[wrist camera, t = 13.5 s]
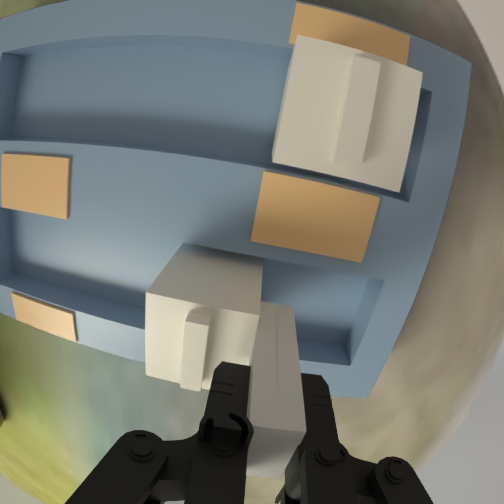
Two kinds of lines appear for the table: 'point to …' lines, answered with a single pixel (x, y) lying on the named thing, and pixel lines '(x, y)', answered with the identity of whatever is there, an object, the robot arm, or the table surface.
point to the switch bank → (207, 173)
